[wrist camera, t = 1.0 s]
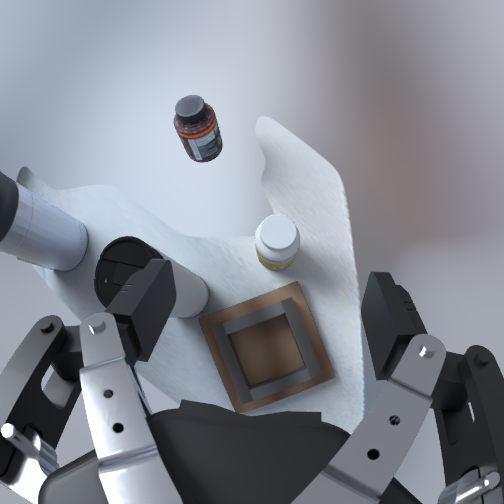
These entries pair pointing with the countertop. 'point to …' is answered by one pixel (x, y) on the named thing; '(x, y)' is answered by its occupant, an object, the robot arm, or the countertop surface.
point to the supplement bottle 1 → (198, 128)
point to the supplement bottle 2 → (277, 241)
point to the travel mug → (137, 257)
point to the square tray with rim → (267, 348)
